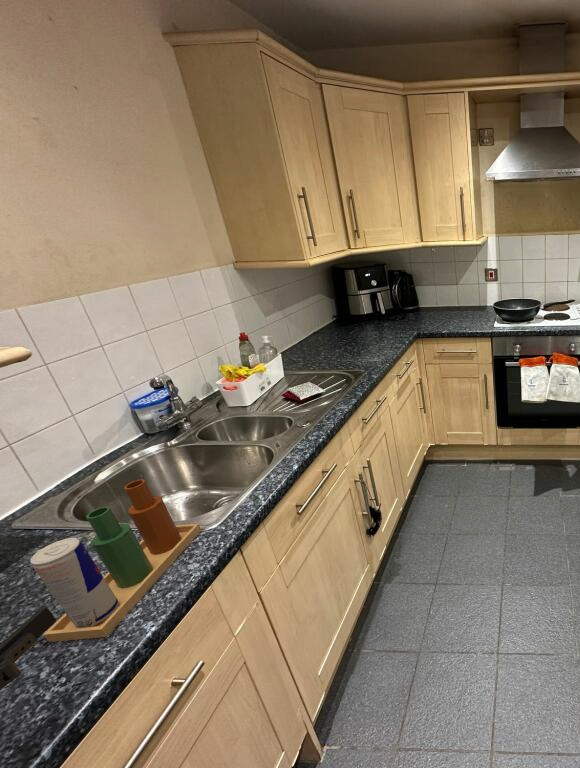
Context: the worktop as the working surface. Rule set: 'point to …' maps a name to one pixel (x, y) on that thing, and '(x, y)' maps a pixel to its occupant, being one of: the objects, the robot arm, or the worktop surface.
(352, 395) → the worktop surface
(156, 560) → the tray
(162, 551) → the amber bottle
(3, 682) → the robot arm
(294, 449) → the worktop surface
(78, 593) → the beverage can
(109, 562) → the green bottle
